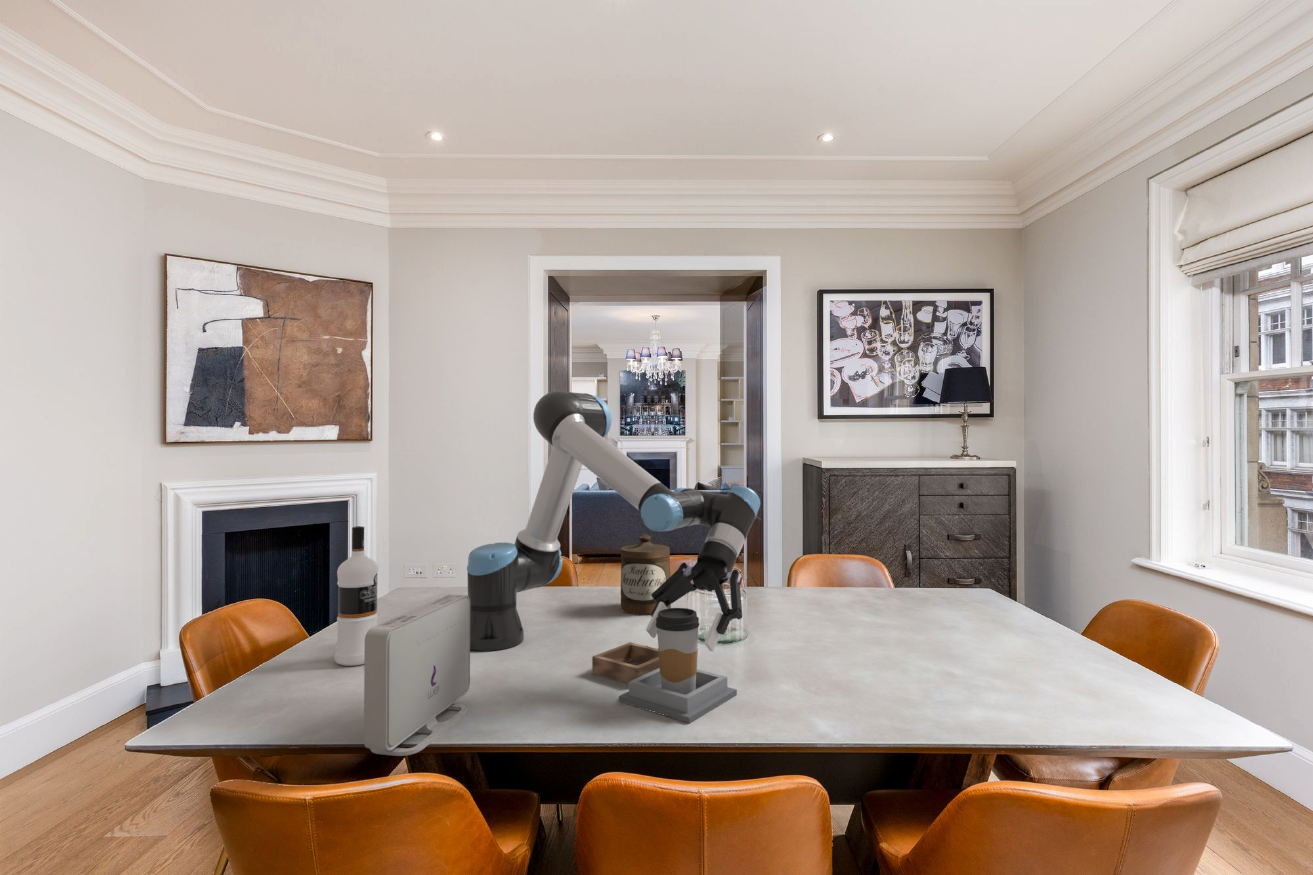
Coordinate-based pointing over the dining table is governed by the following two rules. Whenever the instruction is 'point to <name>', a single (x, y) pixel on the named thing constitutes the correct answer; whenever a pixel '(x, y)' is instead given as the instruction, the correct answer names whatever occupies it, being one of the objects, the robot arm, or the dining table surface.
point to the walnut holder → (616, 666)
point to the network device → (416, 674)
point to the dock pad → (679, 695)
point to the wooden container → (643, 575)
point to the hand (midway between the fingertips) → (678, 640)
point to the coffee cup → (678, 649)
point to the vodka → (355, 602)
